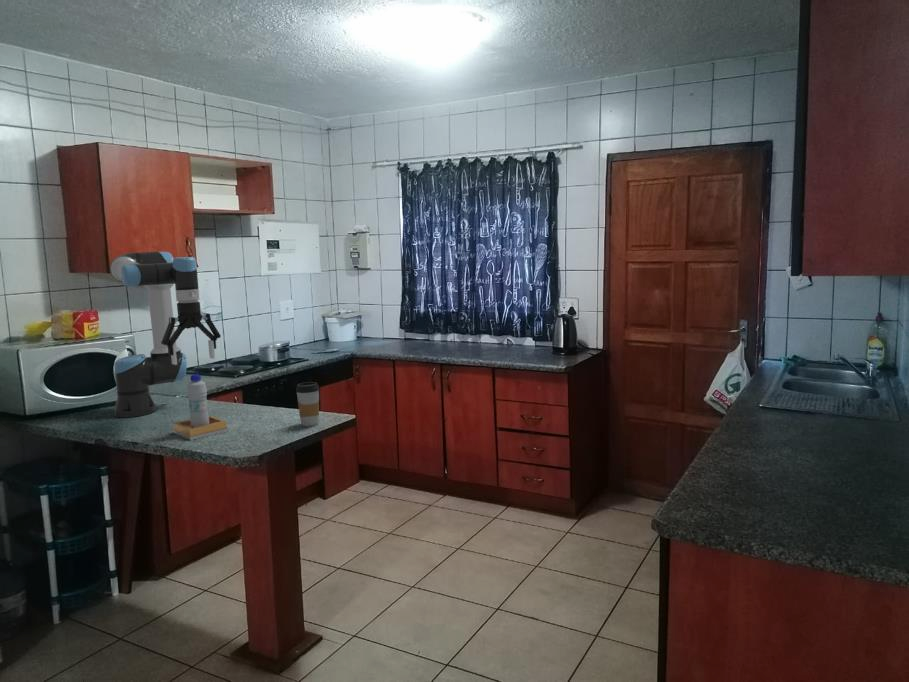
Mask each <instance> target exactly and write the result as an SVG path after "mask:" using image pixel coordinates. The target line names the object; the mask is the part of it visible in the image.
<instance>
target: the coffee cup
mask: <svg viewBox="0 0 909 682" xmlns="http://www.w3.org/2000/svg"><path fill="white" fill-rule="evenodd" d="M319 387H320V386H319V384H318V382H314V381H313V382H312V381H308V382H301V383H298V384H297V385H296V388H295V391H296V395H297V396H296V397H297V406H298V412H299V413H298V414H299V418H300V423H301V425H302V426H303V427H313V426H317V425H318V424H319V422H320V421H319V420H320V416H319V415H320V392H319V391H320V388H319Z"/></svg>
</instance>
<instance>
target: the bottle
mask: <svg viewBox="0 0 909 682" xmlns="http://www.w3.org/2000/svg"><path fill="white" fill-rule="evenodd" d="M186 395H187V398H188V403H189V404H188V405H189V416H190V418H189V420H190V422H191V427H192V428H194V427H198V426H203V425H207V424H209V416H208V415H209V411H208V410H209V409H208V399H207V396H208V390H207V386H206V382H205V381H203V380H202V378H201V375H200V374H197V373H195V374H191V375H190V382H189V383H187V388H186Z"/></svg>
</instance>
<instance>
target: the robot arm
mask: <svg viewBox="0 0 909 682" xmlns="http://www.w3.org/2000/svg"><path fill="white" fill-rule="evenodd" d="M109 272H110V274H111V275H112V277H113V278H114V279H115V280H117V281H120V282H122V284H123V286H125V287H135V288H136V287H142V286H143V287H144V288H145V289H146V290H147V294H148V295H147V296H148V304H149V314H150V316H149V317H150V323H151V334H152V343H153V349H151V351H150V356H146V355H145V354H143V353H139V354H133V355H127V356H124V357H121V358H119V359H117V360H115V362H114V371H113V372H114V376H115V382H116V383H115V384H116V394H117V398H116V401H115V406H114V409H113V410H114V417H117V418H135V417H142V416H145V415H146V416H147V415H149V414H153V413H154V412H156V411H157V408H156V403H155V402H154V400H153V397H152V395H151V393H150V388H149V386H155V385H163V384H169V383H171V384H172V383H173V384H174V383H177V382H180V381H183V380H184V379H185V377H186V374H187V369H188V367H187V364H188V363H187V357H186V354H185V353H184V352H182V351H181V350H182V349H181V348H179V347H178V346H177V340H178V339H179V337H180V335H181V334H182V333H183V331H184V330H185V329H192V328H193V329H194V328H195V329H196V328H198V329H199V330H200V331H201V332H202V333H203V334H204V335H205V336H206V337H208V339H209V340H207V341H208V353H209V354H208V355H209V359H211V360H214V359H216V354H215V350H216V349H217V340H218V339H220V338H221V334H220V332H219V331H218V329H217V328H216V326H215V324H214V322H213V320H212V318H211V315H210V313H207V312H205V313H203V314H202V313H201V310H202V309H201V302H200V301H199V300H200V290H199V278H198V265H197V261H196V258H195V257H194V256H184V257H182V256H179V257H174V256H173V255H172V254H171V252H168V251H146V252H145V251H142V252H141V251H140V252H126V253H124V254H121V255H118V256H117V257H115V258H113V260H112V261H111V262H110V265H109ZM173 286H174V287H175V298H176V300H175V301H176V302H177V303H176V308H177V317H174V312H173V311H174V309H173V302H172V291H171V289H172V287H173ZM202 320H204V321H205V323H206V325H207V327H208V328H209V329H208V328H206V326H205V325H204V324H203V323H202V322H201V321H202ZM177 322H178V323H179V324H178V325H177V328H176V329H175V325H176V324H177Z"/></svg>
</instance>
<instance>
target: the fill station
mask: <svg viewBox="0 0 909 682" xmlns="http://www.w3.org/2000/svg"><path fill="white" fill-rule="evenodd" d="M208 416H209V424H207V425H203V426H198V427H194V428H192V427H191V422H190V419H185V420H181V421H176V422H173V429H172V433H173V434H175V435H177V436H180V437H182V438H184V439H186V438H187V439H186V440H188V439H189V441H193V439H195V440H197V439H198V438H199V439H201V438H202V437H203V438H206V436H207V437H212V436H215V434H216V435H219V434H220V435H221V434H223V433H228V432H229V430H230V429H229V427H227V421H226V420H224V419H221V418H218V417H216V416H213V415H209V414H208Z"/></svg>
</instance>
